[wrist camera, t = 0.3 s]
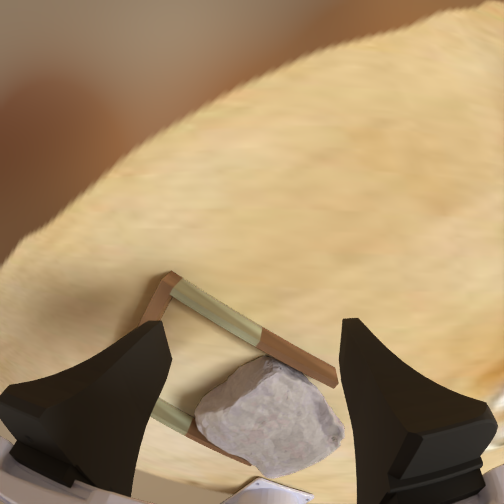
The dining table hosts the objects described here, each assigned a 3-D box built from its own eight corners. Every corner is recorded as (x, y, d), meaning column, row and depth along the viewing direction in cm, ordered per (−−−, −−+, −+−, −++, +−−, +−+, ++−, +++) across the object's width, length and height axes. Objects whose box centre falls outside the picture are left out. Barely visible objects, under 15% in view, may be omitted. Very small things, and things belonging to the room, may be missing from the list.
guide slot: (252, 450, 27) (250, 466, 24) (118, 376, 26) (108, 389, 24) (335, 367, 24) (338, 383, 21) (171, 270, 23) (161, 279, 21)
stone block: (268, 332, 26) (188, 401, 26) (277, 357, 21) (182, 433, 21) (349, 405, 27) (275, 461, 27) (367, 432, 22) (281, 492, 23)
